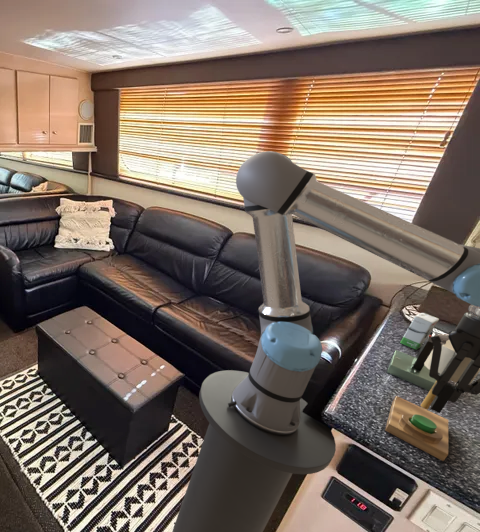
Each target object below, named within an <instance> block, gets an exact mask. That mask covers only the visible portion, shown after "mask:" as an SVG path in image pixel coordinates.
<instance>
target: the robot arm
mask: <svg viewBox="0 0 480 532" xmlns="http://www.w3.org/2000/svg"><path fill="white" fill-rule="evenodd" d="M235 184H236V189H237V191H238V193H239V194H240V196H241V197H242V199H243V206H244V212H245V214H247V215H248V216H250V217H251V218H252V223H253V230H254V231H253V232H254V238H255V246H256V247H255V248H256V253H257V261H258V262H257V263H258V269H259V276H260V284H261V292H262V299H263V303H262V304H260V306H258V316H259V324H260V337H259V341H258V345H257V349H256V353H255V355H254V358H253V361H252V362H251V363H252V364H251V365H250V369H249V372H248V373H249V374H248V376H247V377H246V378H245V379H244V380H243V381H242V382H241V383H240V384H239V385H238V386H237V387H236V388H235V389H234V391H233V394H232V397H231V401H232V402H230V403H228V405H229V407H231V406H233V407H234V409H235V410H236V412H237V413H238V414H239V415H240V416H241V417H242V418H243V419H244V420H245V421H246V422H248V423H249V424H251V425H252V426H254V427H255V428H257V429H259V430H261V431H263V432H266V433H268V434H272V435H276V436H290V435H292V434H294V433H295V432H296V431H297V429H298V427H299V423H300V416H301V412H300V399H301V398H302V397H303V395H304V393H305V391H306V388H307V386H308V384H309V383H310V380H311V378H312V376H313V374H314V371H315V369H316V367H317V366H318V364H319V363H320V361H321V358H322V353H323V344H322V342H321V340H320V339H319V338H318V336H317V335H315V334H314V328H313V324H312V318H311V310H310V305H308V304H307V303H305V302H304V301H303V300H302V294H301V293H302V292H301V285H300V284H301V282H300V276H299V265H298V256H297V247H296V239H295V229H294V222H293V216H294V217H296V218H299V219H300V220H303V221H305V222H307V223H309V224H311V225H314V226H315V227H318V228H319V229H322V230H323V231H326V232H328V233H329V234H332V235H334V236H335V237H337V238H339V239H342V240H344V241H347V242H349V244H351V245H352V244H353V245H354V246H357V247H359V248H361V249H363V250H365V251H367V252H369V253H371V254H373V255H374V256H377V257H379V258H382V259H383V260H385V261H387V262H389V263H392V264H394V265H395V266H397V267H400V268H402V269H404V270H406V271H408V272H410V273H412V274H413V275H416V276H418V277H421V278H422V279H424V280H426V281H428V282H430V283H432V284H434V285H436V286H438V287H440V288H442V289H444V290H446V291H447V292H450V293H452V294H453V295H455V297H456V298H458V300H461V301H463V302H465V303H468V304H470V305H469V306H468V308H467V310H468V312H465V313H464V314H463V315H462V317H461V319H460V321H459V322H458V324H457V325H456V327H455V328H454V329H452V330H451V331H449V332H448V333H440V334H439V333H437V332H433V333H431V334H430V335H431V340H432V343H433V345H434V347H433V353H432V359H431V365H430V372H429V376H430V377H431V378H434V379H435V380H436V381H437V382H436V384H435V385H434V387H433V388H432V394H434V395H436V397H435V398H434V400H433V401H432V403H431V405H430V410H432V411H433V412H436V413H438V414H440V413H441V412H442V411H443V409H444V408H445V406H446V405H447V403H448V402H450V403H453V404H455V403H457V401H458V400H459V398H460V397H461V396H462V395H463V394H464V393H468V394H471V395H474V396H477V395H479V394H480V377H479V378H478V379H476V380H475V381H473V382H472V383H471V384H469V383H470V382H471V380H472V379H473V377H474V376H475V374H476V373H477V372H478V370H479V369H480V247H476V246H469V245H464V244H460V243H457V242H455V241H453V240H451V239H448V238H446V237H444V236H441V235H440V234H437V233H435V232H433V231H431V230H428V229H426V228H424V227H421V226H419V225H417V224H414V223H413V222H410V221H408V220H405V219H403V218H401V217H398V216H396V215H395V214H392V213H390V212H388V211H385V210H383V209H381V208H378V207H376V206H374V205H372V204H369V203H367V202H365V201H363V200H360V199H358V198H356V197H353V196H351V195H350V194H347V193H344V192H342V191H340V190H338V189H335V188H334V187H331V186H328V185H326V184H324V183H322V182H319V180H317V176H316V174H315V173H314V172H311V171H309V170H306V169H305V168H303V167H301V166H299V165H298V164H296V163H295V162H293V161H292V159H291V158H290V157H288V156H287V155H285V154H283V153H280V152H277V151H271V150H270V151H269V150H268V151H261V152H258V153H257V152H256V153H254V154H252V155H251V156H250V157H248V158H247V159H245V161H244V162H242V164H241V165H240V167H239V168H238V171H237V173H236V177H235ZM447 340H450V342H451V344H452V347H453V349H454V351H455V352H454V355H453V356H452V358H451V359H450V361H449V362H448V364H447V366H446V367H445V369H444V370H443V372H442V373H441V374H440V373H438V368H439V363H440V357H441V351H442V345H444V344H446V341H447ZM465 357H467V358H471V361H470V363H469V364H468V366H467V367H466V369H465V370H464V372H463V373H462V375H461V376H460V378H459V380H458V381H457V382H455V384H453V383H449V382H450V381H451V380H450V379H451V377H452V376H453V374H454V372H455V371H456V369H457V368H458V366H459V365H460V363H461V362H462V361H463V360H464V358H465Z"/></svg>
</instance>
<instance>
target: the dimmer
mask: <svg viewBox="0 0 480 532" xmlns="http://www.w3.org/2000/svg"><path fill="white" fill-rule="evenodd" d="M415 357H416V356H413V355H410V354H408V353H406V352H402V351H400V350H397V349H395V351H394V352H393V354H392V356H391V358H390V361H389V364H388V367H387V370H386V373H387V374H390V375H392V376H394V377H397V378H399V379H401V380H404V381H406V382H408V383H411V384H412V385H415V386H418V387H420V388H421V389H424V390H427V391H428V392H429V391H430V390H431V388H432V387H433V385H434V384H435V382H436V380H435V379H434V378H431V377H430V376H429V372H430V370H429V369H428V368H427V367H426V366H425V365H424V366H423V368H422V370H421V371H418V370H416V369H414V368H412V364H413V360H414V359H415Z"/></svg>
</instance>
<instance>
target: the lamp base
mask: <svg viewBox="0 0 480 532" xmlns="http://www.w3.org/2000/svg"><path fill="white" fill-rule="evenodd" d="M415 414H417V415H421V416H424V417H426V418H428V419H430V420H431V421H433V422H434V423H435V424H436V426H437V428H436V429H435V431H434V432H433V433H432V434H430V433H427V432H424V431H422V430H420V429H418V428H417V427H415V426H414V425H413V424H411V422H410V420H411V418H412V417H413V415H415ZM384 431H385V432H387V433H389V434H391V435H393V436H394V437H396V438H399V439H400V440H402V441H404V442H406V443H408V444H410V445H412V446H413V447H415V448H418V449H419V450H421V451H423V452H425V453H427V454H429V455H430V456H432V457H434V458H436V459H438V460H440V461H442V462H444V461H445V459H446V458H447V457H448V456H449V419H447V418H445V417H443V416H441V415H439V414H436V413H434V412H432V411H430V410H429V409H424V408H422V407H421V406H419V405H417V404H415V403H413V402H411V401H408V400H406V399H404V398H402V397H400V396H398V395H396V396H394V398H393V400H392V402H391V406H390V409H389V413H388V417H387V421H386V425H385V429H384Z"/></svg>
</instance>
